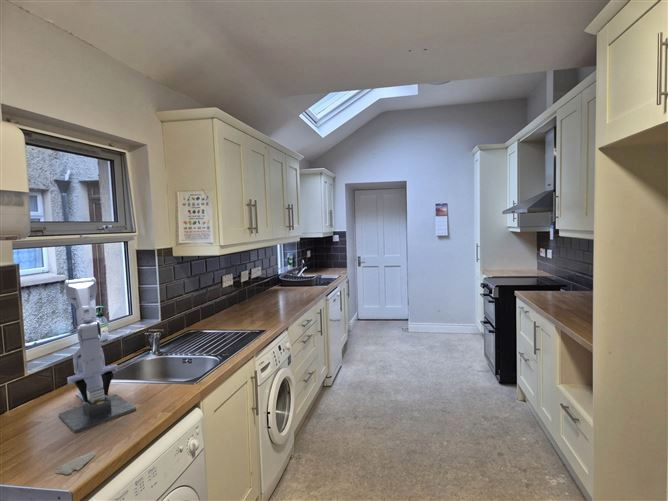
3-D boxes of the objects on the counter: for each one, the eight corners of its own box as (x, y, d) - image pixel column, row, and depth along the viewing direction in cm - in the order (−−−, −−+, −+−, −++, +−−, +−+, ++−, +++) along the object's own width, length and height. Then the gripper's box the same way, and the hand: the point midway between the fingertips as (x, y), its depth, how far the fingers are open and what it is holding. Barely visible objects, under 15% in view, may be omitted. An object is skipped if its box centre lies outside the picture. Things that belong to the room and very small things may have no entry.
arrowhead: (50, 466, 101) (84, 448, 110) (50, 473, 101) (84, 455, 110) (71, 470, 99) (104, 451, 109) (71, 477, 99) (104, 458, 108)
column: (88, 410, 133) (86, 389, 132) (101, 405, 136) (99, 385, 135) (92, 414, 130) (90, 392, 129) (106, 409, 133) (104, 388, 132)
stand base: (58, 416, 132) (57, 402, 132) (116, 396, 146) (115, 383, 145) (74, 433, 120) (73, 417, 120) (136, 410, 134) (134, 396, 133)
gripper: (70, 367, 124) (74, 409, 125) (119, 354, 134) (123, 393, 135) (63, 363, 128) (68, 403, 129) (112, 350, 139) (115, 388, 140)
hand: (96, 397), depth 133 cm, fingers open, 5 cm apart
